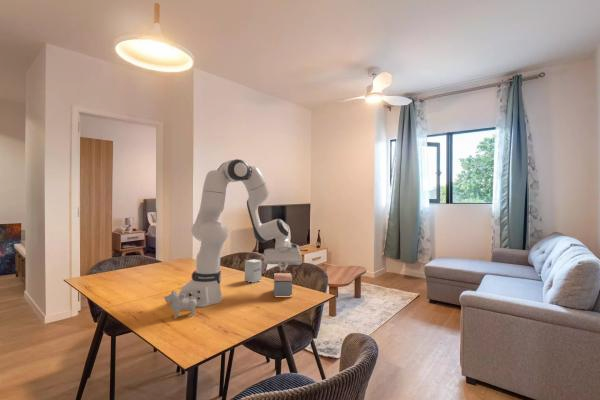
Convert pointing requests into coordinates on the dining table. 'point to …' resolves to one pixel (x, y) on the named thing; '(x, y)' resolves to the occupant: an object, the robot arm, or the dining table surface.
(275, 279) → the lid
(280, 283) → the box
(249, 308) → the dining table surface
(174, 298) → the grey dog figurine
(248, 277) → the white cylinder
